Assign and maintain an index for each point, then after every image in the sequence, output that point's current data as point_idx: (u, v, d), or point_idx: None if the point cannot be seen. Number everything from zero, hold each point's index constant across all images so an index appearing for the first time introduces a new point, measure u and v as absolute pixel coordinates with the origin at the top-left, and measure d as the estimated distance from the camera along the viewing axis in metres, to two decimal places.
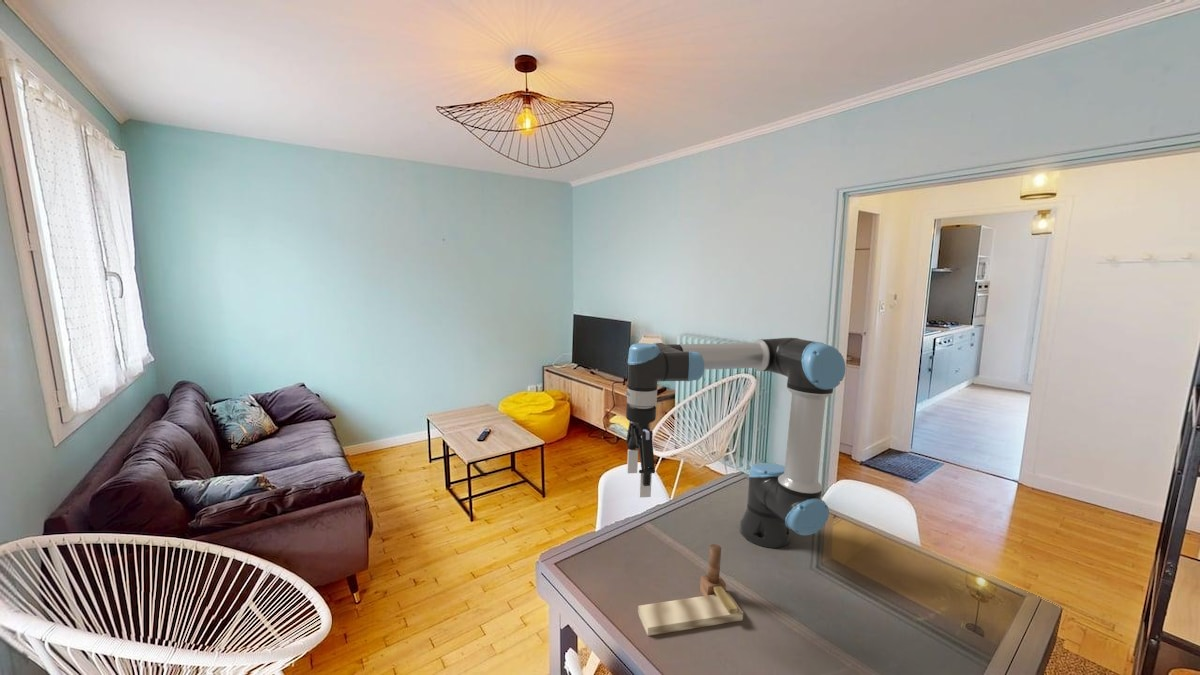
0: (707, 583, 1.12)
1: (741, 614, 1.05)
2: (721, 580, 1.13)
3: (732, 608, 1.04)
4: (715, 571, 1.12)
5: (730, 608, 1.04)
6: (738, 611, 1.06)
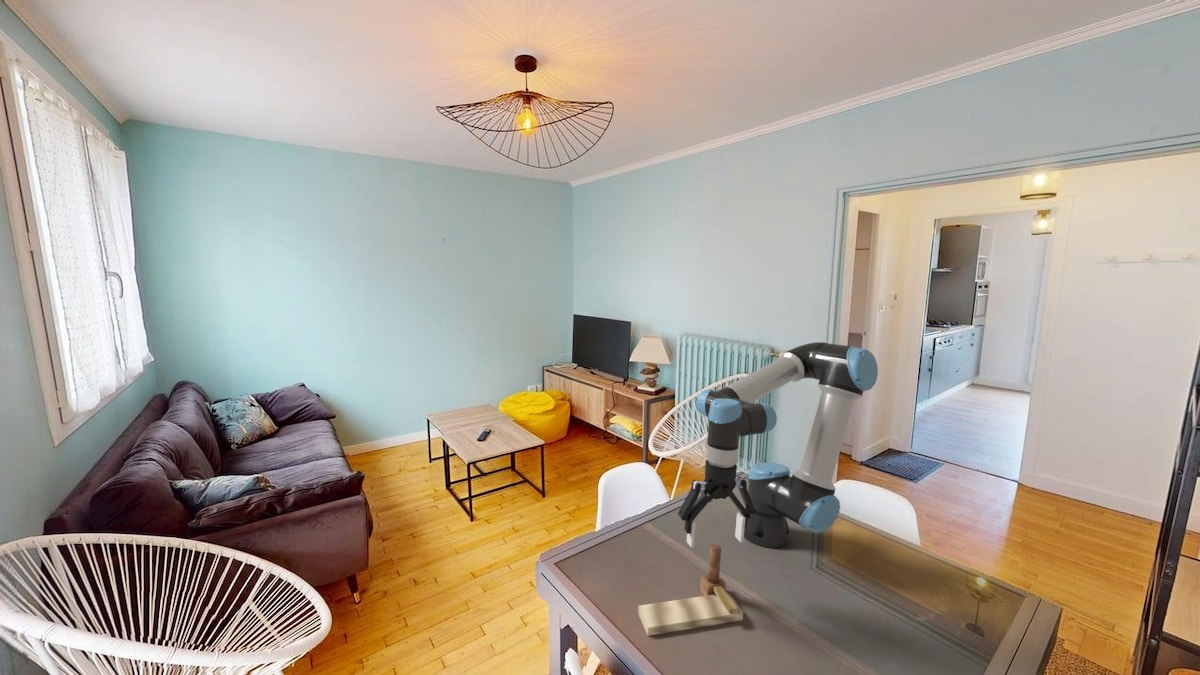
0: (707, 583, 1.12)
1: (741, 614, 1.05)
2: (721, 580, 1.13)
3: (732, 608, 1.04)
4: (715, 571, 1.12)
5: (730, 608, 1.04)
6: (738, 611, 1.06)
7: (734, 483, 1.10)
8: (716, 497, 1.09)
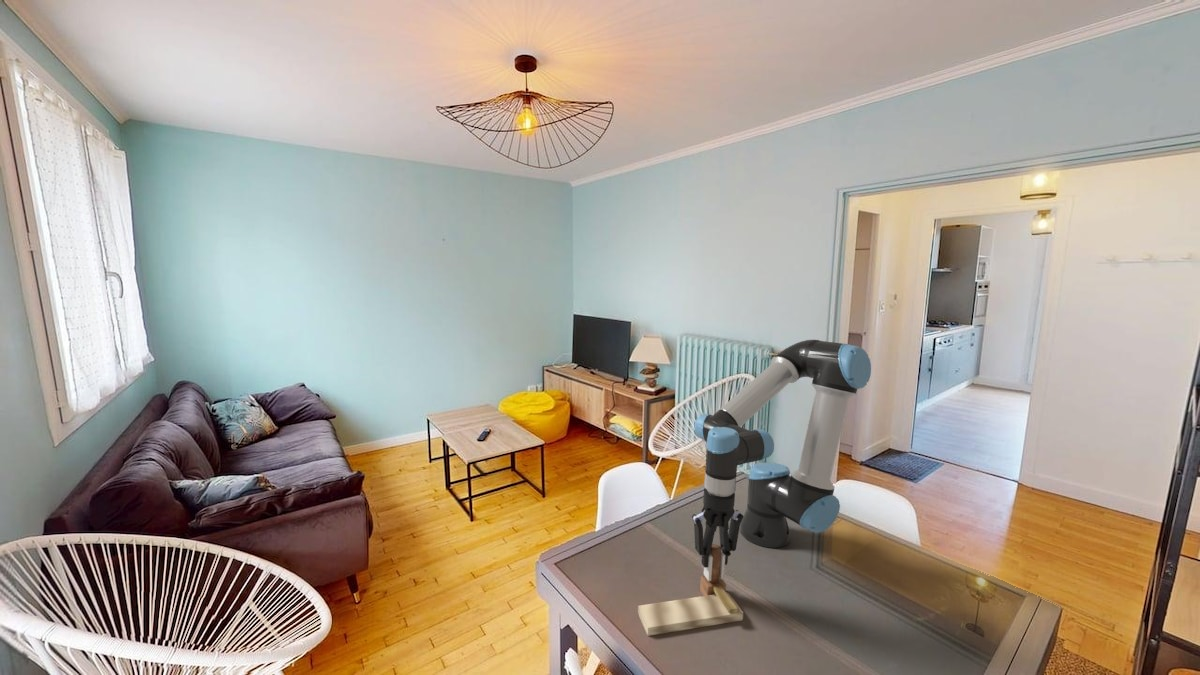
0: (707, 583, 1.12)
1: (741, 614, 1.05)
2: (721, 580, 1.13)
3: (732, 608, 1.04)
4: (715, 571, 1.12)
5: (730, 608, 1.04)
6: (738, 611, 1.06)
7: (733, 512, 1.11)
8: None
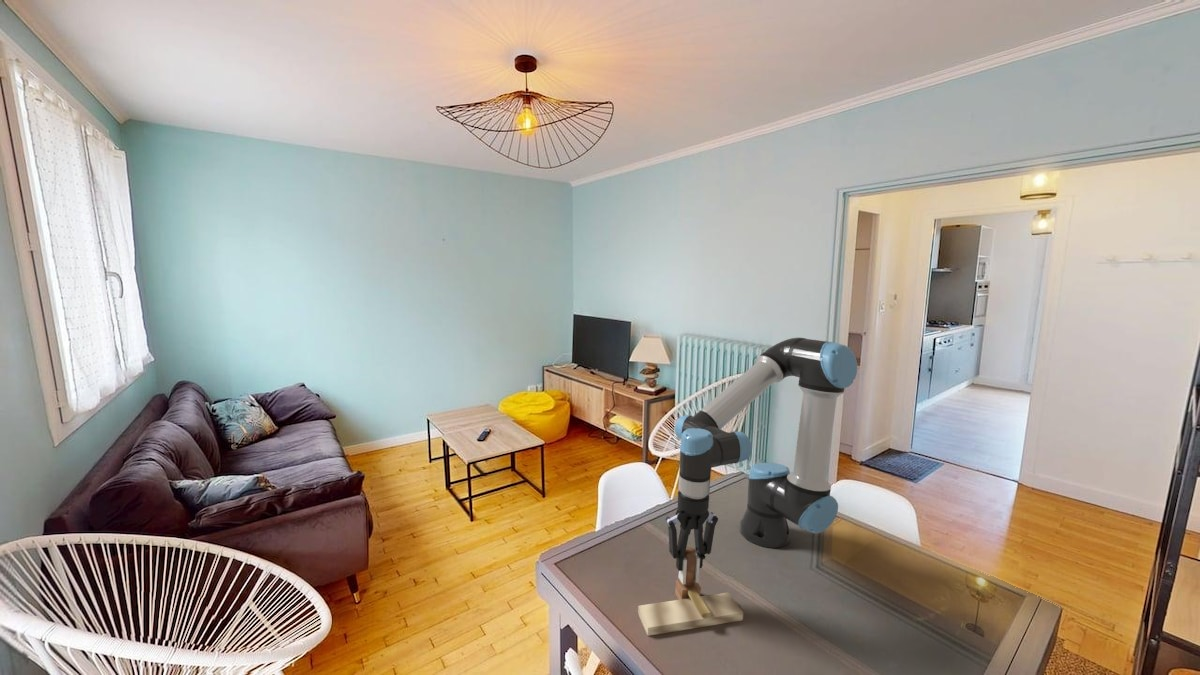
0: (682, 587, 1.11)
1: (741, 614, 1.05)
2: (696, 583, 1.12)
3: (705, 612, 1.02)
4: (689, 574, 1.10)
5: (703, 612, 1.02)
6: (738, 611, 1.06)
7: (707, 514, 1.09)
8: None
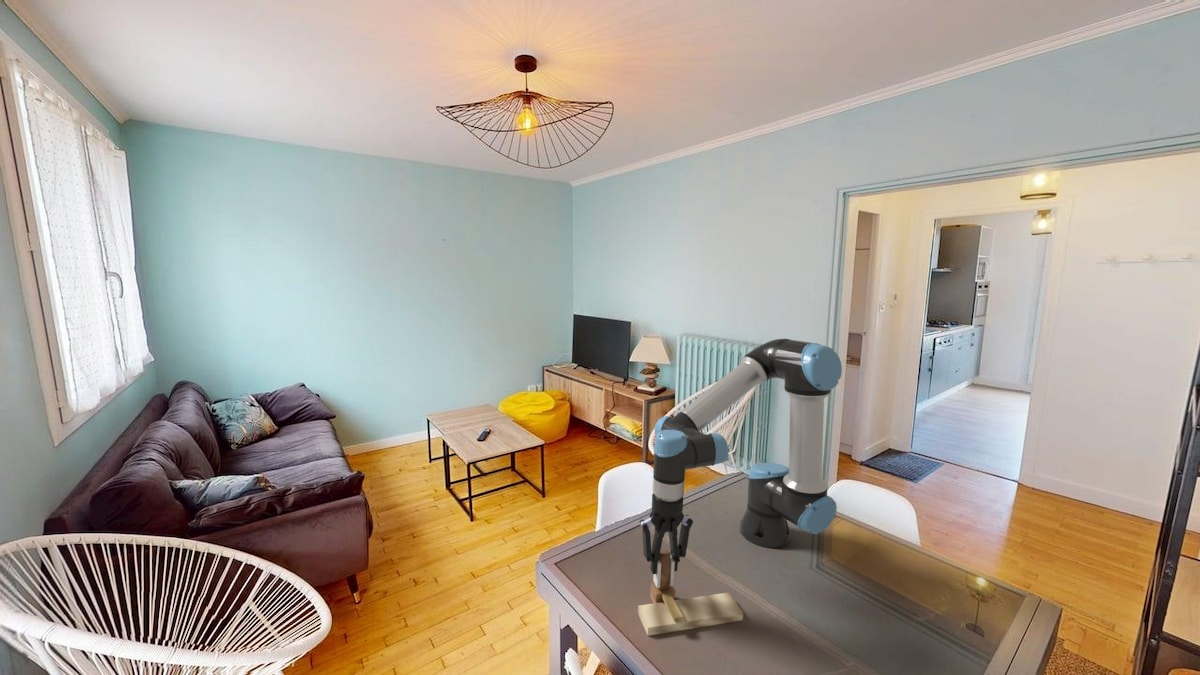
0: (656, 590, 1.09)
1: (741, 614, 1.05)
2: (671, 587, 1.10)
3: (678, 617, 1.01)
4: (664, 578, 1.08)
5: (676, 616, 1.01)
6: (738, 611, 1.06)
7: (682, 517, 1.08)
8: None
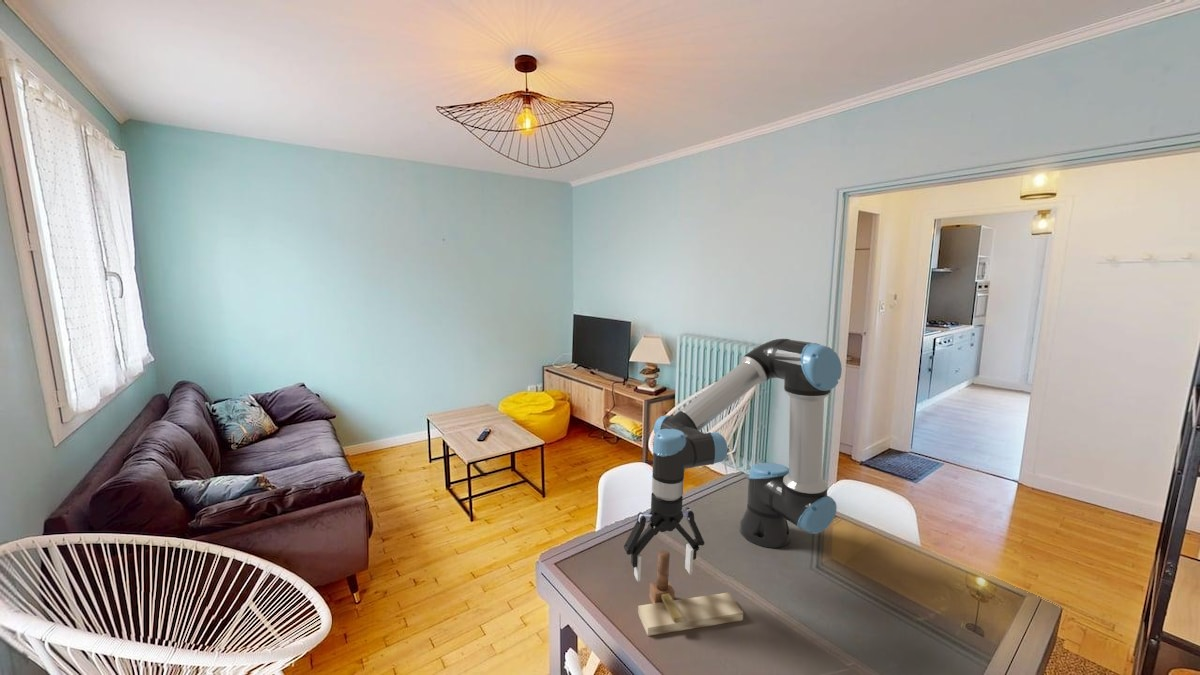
0: (655, 590, 1.09)
1: (741, 614, 1.05)
2: (670, 587, 1.10)
3: (677, 617, 1.01)
4: (663, 578, 1.08)
5: (675, 616, 1.01)
6: (738, 611, 1.06)
7: (681, 515, 1.08)
8: (662, 530, 1.07)
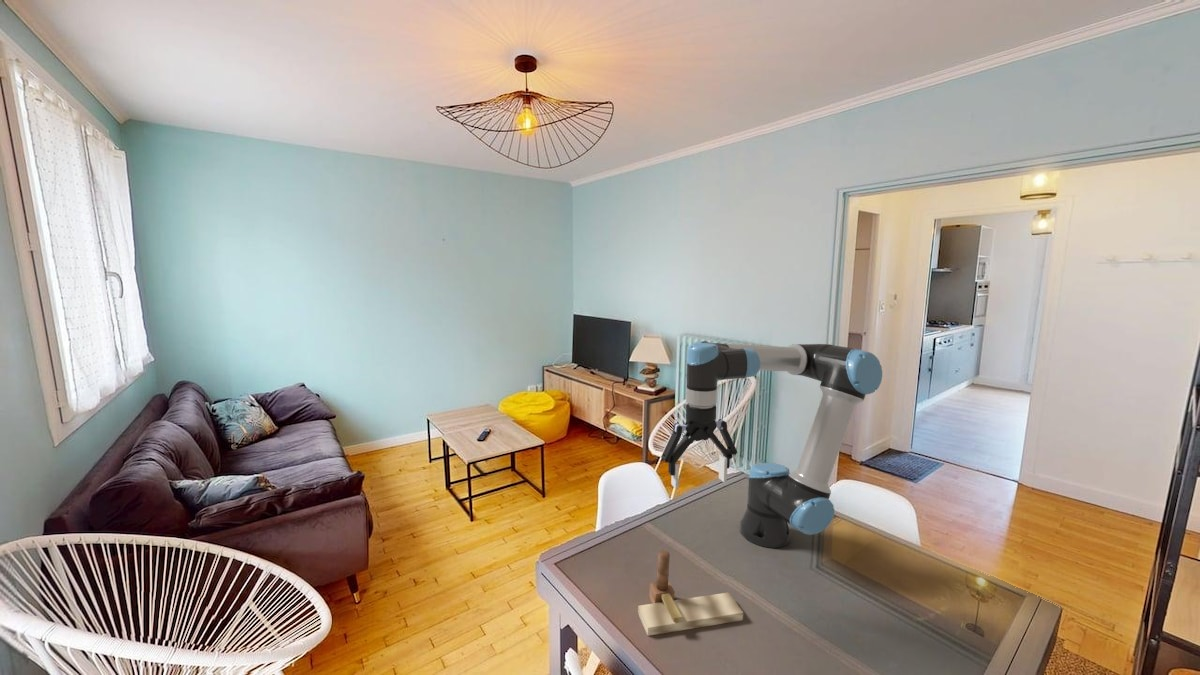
0: (655, 590, 1.09)
1: (741, 614, 1.05)
2: (670, 587, 1.10)
3: (677, 617, 1.01)
4: (663, 578, 1.08)
5: (675, 616, 1.01)
6: (738, 611, 1.06)
7: (714, 424, 1.13)
8: (697, 439, 1.12)
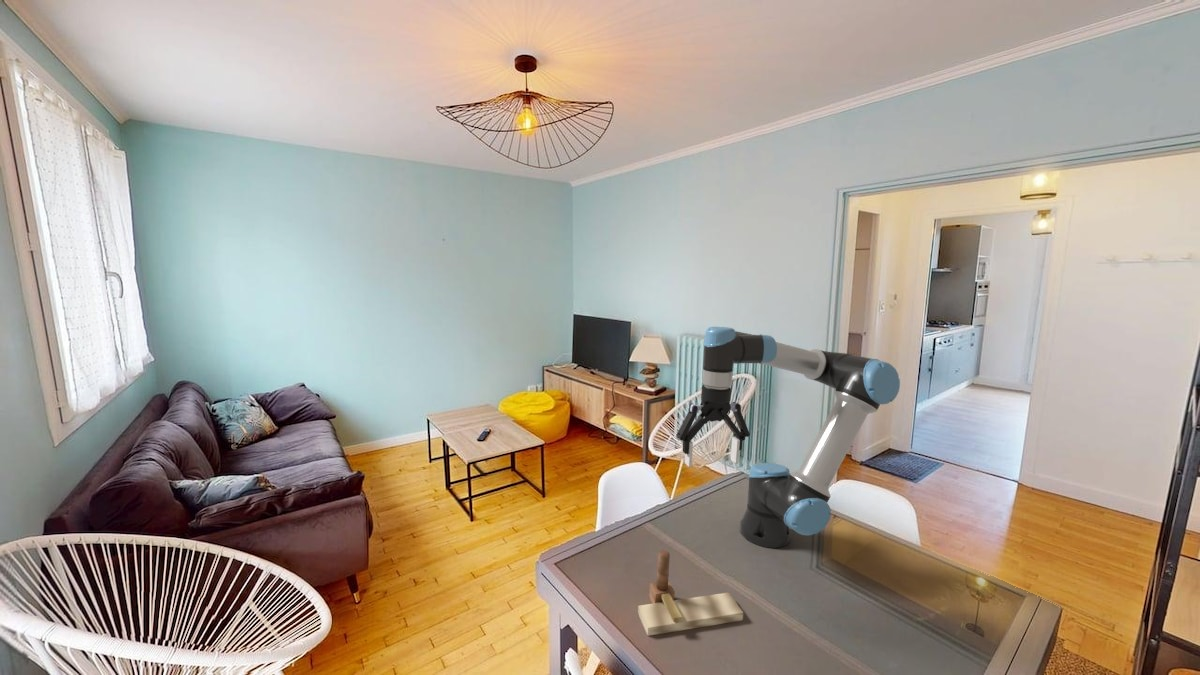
0: (655, 590, 1.09)
1: (741, 614, 1.05)
2: (670, 587, 1.10)
3: (677, 617, 1.01)
4: (663, 578, 1.08)
5: (675, 616, 1.01)
6: (738, 611, 1.06)
7: (729, 406, 1.16)
8: (712, 419, 1.16)
